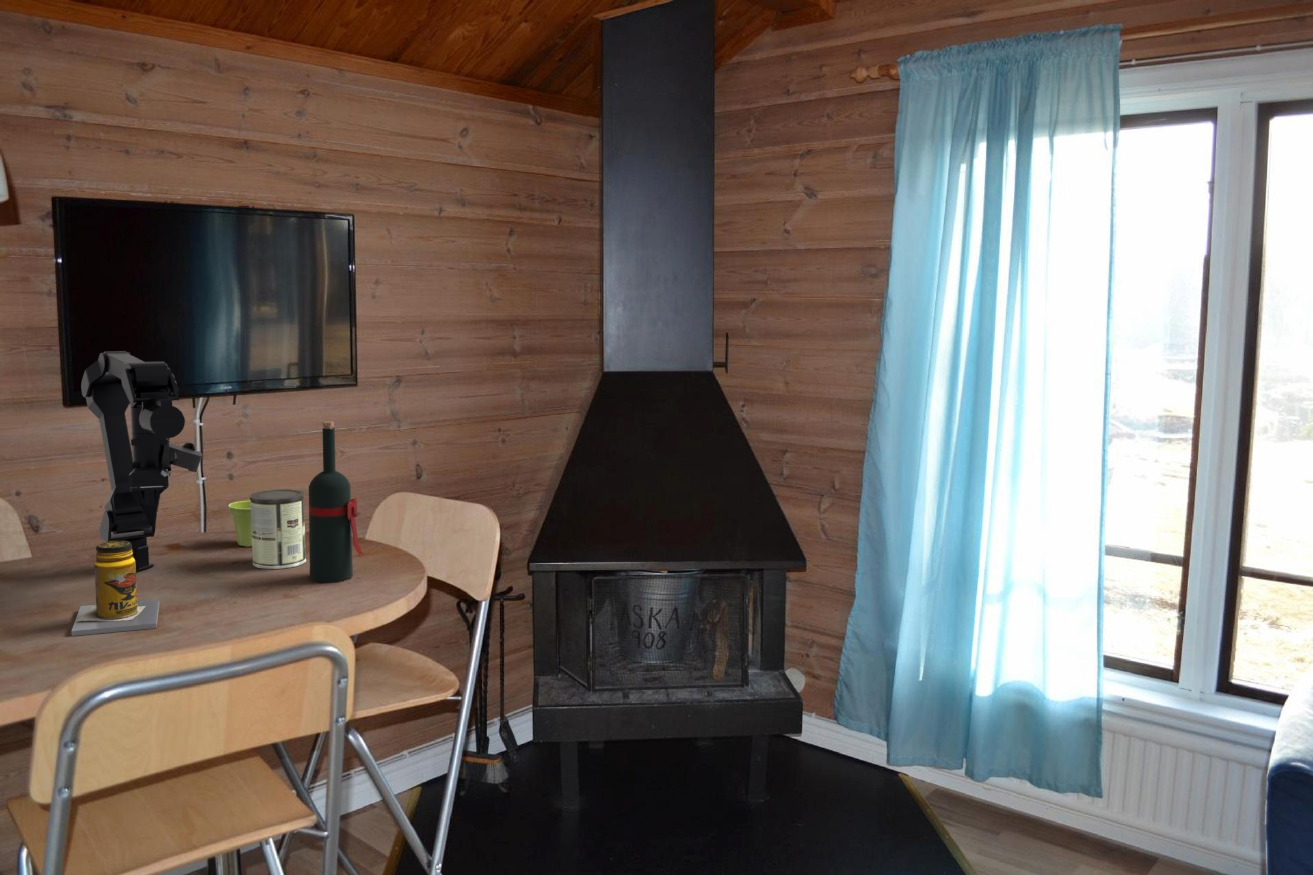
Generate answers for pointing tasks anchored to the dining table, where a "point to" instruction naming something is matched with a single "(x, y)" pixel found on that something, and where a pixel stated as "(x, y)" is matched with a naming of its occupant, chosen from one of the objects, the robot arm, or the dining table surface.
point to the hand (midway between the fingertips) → (153, 517)
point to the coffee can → (278, 528)
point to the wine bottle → (331, 518)
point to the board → (141, 621)
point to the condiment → (114, 583)
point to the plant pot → (242, 522)
